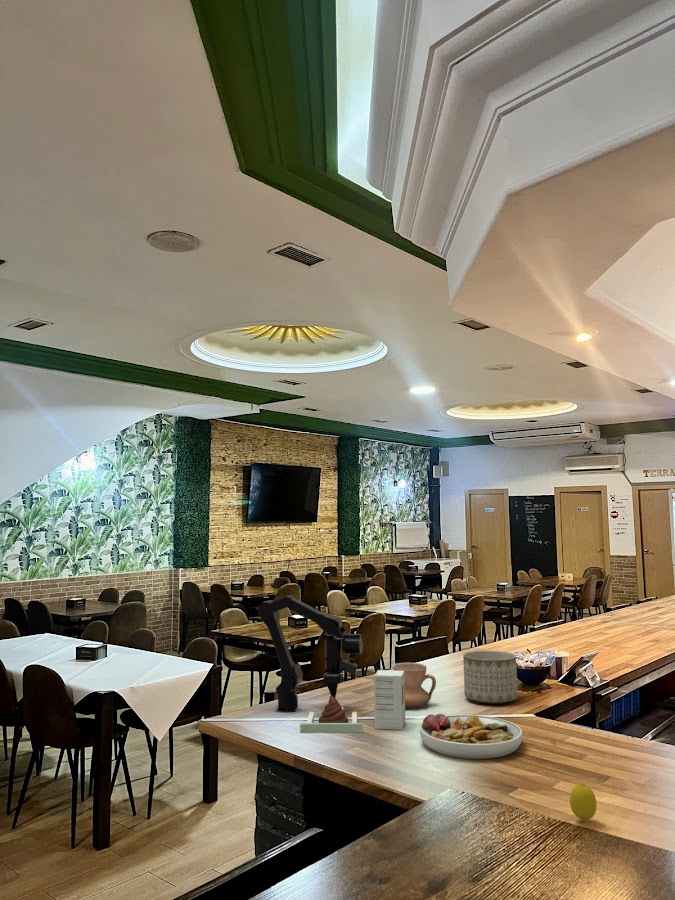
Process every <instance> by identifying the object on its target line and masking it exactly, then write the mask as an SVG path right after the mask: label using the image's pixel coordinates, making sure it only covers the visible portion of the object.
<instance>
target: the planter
mask: <svg viewBox="0 0 675 900" xmlns="http://www.w3.org/2000/svg"><path fill="white" fill-rule="evenodd" d="M462 661H463V683H464V684H463V685H464V691H463V692H464V697H465V698H467V699H469V700H471V701H472V700H473V701H475V702H479V703H481V704H486V705H501V704H504V703H508V702H514V701H516V700H517V698H518V697H519V695H518V680H517V679H518V675H517V655H516V654H515V653H513V652H507V651H502V650H471V651H466V652H464V653H463V660H462Z"/></svg>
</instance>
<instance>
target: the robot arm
mask: <svg viewBox="0 0 675 900" xmlns="http://www.w3.org/2000/svg"><path fill="white" fill-rule="evenodd" d="M283 609H289V610H291V611H292V612H295V613H296V614H299V615H300V616H303V617H304V618H306V619H308V620H310V621H311V622H313V623H315V624H316V625H317V626H318V627H319V628H320V629H321V630H322V631H323V632H324V633H323V634H322V635H321V637H319V641H325V643H324V644H325V653H324V654H325V655H324V656H325V657H324V660H325V669H324V672H325V673H324V675H323V683H324V684H325V685H326V687H327V689H328V691H329V694H330V696H333V697H335V698H336V697H337V692H338V691H337V690H338V685H339V684H341V683H342V682H343V673H344V672H346V673H348V674H350V675H351V676H355V675H356V672H357V669H358V667H359V666H358V665H359V664H357V663H356V662H355V659H354V658H352V657H350V658H349V659H343V657H344V656H343V655H342V651H343V652H344V653H345V654H347V655H349V654H352V655H362V654H363V651H364V649H363V648H364V643H363V639H362V634H361V633H355V634H354V633H349V632H348V631H347V629H346V628H345V627H344V625H343V621H342V618H341V617H339V616H336V615H334V614H331V613H328V612H327V613H326V612H322V611H320V610H318V609H317V608H315V607H313V606H311V605H309V604H307V603H305V602H303V601H301V600H299V599H298V598H296V597H295V596H293V595H286V596H284V597H283V598H280V599H278V600H271V599H270V600H266V601H262V602H261V603H260V604H259V605H258V606H257V613H258V615H259V617H260V619H261V621H262V622H263V624H264V625H265V626H266V627H267V629H268V632H269V635H270V638H271V641H272V644H273V647H274V649H275V652H276V655H277V658H278V660H279V661H278V662H279V663H280V677H281V681H280V683H279V684H278V685H277V687H275V690H276V694H277V709H276V711H277V712H296V711H297V709H298V706H299V697H298V696H299V695H298V694H297V689H298V687H299V685H300V684H301V683H302V681H303V679H304V678H303V675H304V672H303V670H302V668H301V667H302V666H301V664H300V662H298V663H297V664H296V663H295V661H294V660H293V658H292V655H291V653H290V649H289V646H288V644H287V641H286V637H285V635H284V632H283V628H282V626H281V622H280V616H281V615H280V610H283ZM336 699H337V698H336Z"/></svg>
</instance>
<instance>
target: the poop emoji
mask: <svg viewBox="0 0 675 900" xmlns="http://www.w3.org/2000/svg"><path fill="white" fill-rule="evenodd" d="M318 723H349V718H348V717H347V716H346V711H345V709H344V707H343V706H342V705H341V704H340V702H339V701H338V699H337V698H335V697H333V696H331V695H330V696H329V700H328V703H327V704H325V706H324V709H323V711H322V712H321V716H319V718H318Z"/></svg>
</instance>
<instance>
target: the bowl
mask: <svg viewBox="0 0 675 900" xmlns="http://www.w3.org/2000/svg"><path fill="white" fill-rule="evenodd" d="M419 734H420V738H421V741H422V742H423V743H424V744H425V746H427V748H429V749H430V750H433V751H434V752H435V753H438V754H442V755H444V756H447V757H453V758H458V759H465V760H466V759H467V760H486V759H487V760H488V759H489V760H490V759H496V758H500V757H504V756H508V755H510V754H512V753H514V752H516V750H518V748H519V747H520V746H521V744H522V741H523V729H521V727H520V726H519V725H517V724H515V723H513V722H511V721H508V720H505V719H502V718H497V717H491V716H485V715H476V714H455V715H454V714H453V715H452V714H451V715H446V714H443V713H437V714H428V715H427V716H425V717H424V718H423V719H422V723H421V724H420V725H419Z"/></svg>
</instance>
